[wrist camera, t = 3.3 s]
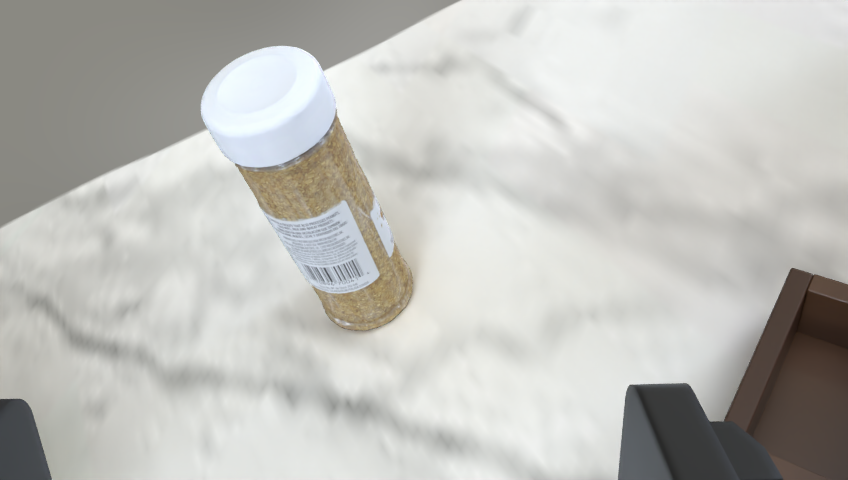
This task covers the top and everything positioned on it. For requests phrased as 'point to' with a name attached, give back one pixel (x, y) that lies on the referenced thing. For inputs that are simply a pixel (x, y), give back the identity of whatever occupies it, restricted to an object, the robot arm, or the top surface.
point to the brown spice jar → (309, 182)
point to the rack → (800, 381)
